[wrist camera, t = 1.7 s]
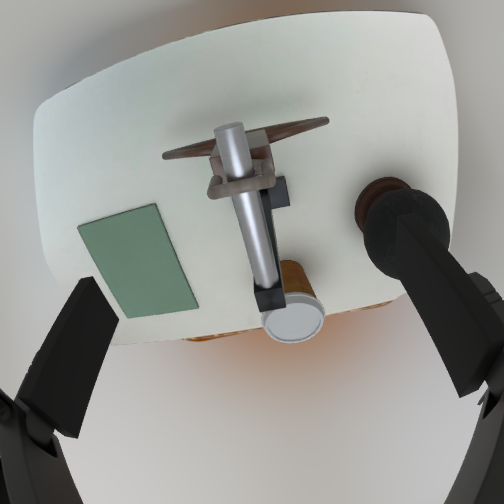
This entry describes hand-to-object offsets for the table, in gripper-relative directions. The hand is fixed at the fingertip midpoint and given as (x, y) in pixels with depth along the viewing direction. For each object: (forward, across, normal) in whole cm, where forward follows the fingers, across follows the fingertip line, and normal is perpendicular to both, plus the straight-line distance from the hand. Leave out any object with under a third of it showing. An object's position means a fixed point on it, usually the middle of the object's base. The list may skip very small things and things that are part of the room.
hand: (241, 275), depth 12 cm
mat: (+33, -24, -19) cm, 45 cm away
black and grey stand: (+33, 0, -4) cm, 33 cm away
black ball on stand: (+33, +20, -17) cm, 42 cm away
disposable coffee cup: (+33, +1, -26) cm, 42 cm away
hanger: (+27, 0, 0) cm, 27 cm away
